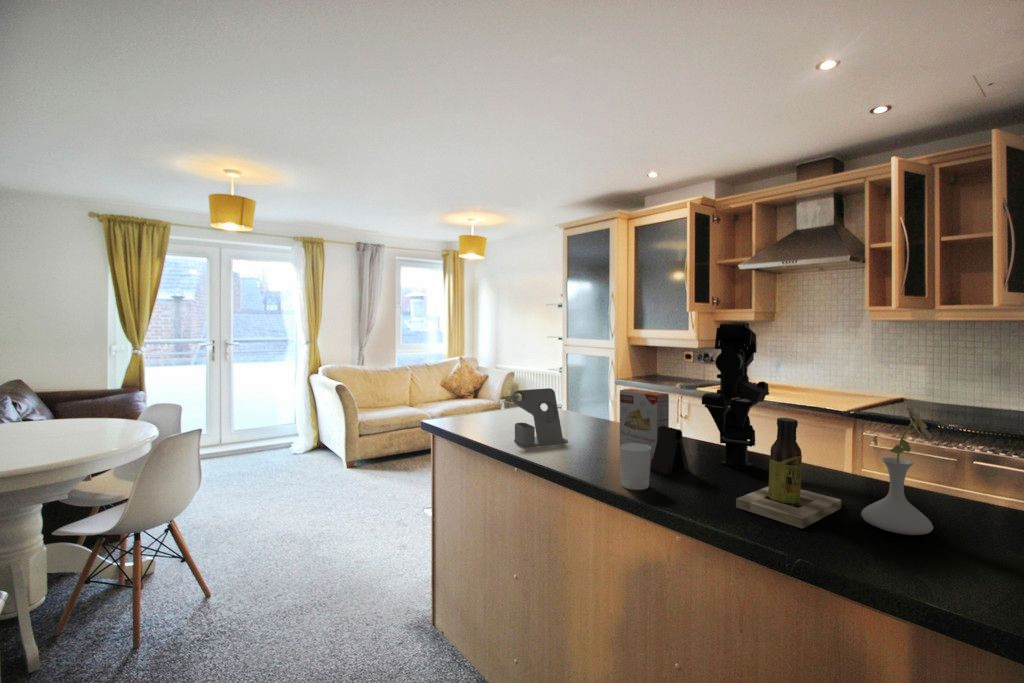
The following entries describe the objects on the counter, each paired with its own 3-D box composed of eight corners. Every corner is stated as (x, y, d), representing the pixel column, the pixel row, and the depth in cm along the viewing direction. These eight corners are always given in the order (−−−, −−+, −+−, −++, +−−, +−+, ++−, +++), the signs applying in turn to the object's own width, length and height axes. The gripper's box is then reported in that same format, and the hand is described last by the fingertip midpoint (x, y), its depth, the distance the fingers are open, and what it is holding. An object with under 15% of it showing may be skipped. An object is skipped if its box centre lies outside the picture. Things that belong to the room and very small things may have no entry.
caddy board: (776, 491, 120) (776, 482, 120) (840, 508, 109) (841, 499, 109) (736, 507, 110) (736, 498, 110) (802, 528, 98) (802, 518, 98)
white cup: (645, 493, 119) (645, 452, 119) (614, 487, 123) (614, 448, 123) (654, 484, 126) (655, 445, 125) (625, 479, 130) (625, 441, 130)
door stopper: (666, 475, 133) (667, 431, 132) (650, 470, 138) (650, 427, 137) (689, 470, 137) (689, 428, 137) (672, 465, 142) (672, 424, 142)
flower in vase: (911, 545, 91) (915, 411, 90) (848, 522, 101) (850, 402, 100) (950, 533, 96) (954, 406, 95) (886, 512, 106) (889, 398, 105)
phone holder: (523, 447, 163) (523, 394, 162) (511, 441, 172) (511, 390, 171) (569, 442, 170) (569, 390, 169) (554, 436, 179) (554, 387, 178)
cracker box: (618, 456, 151) (618, 389, 150) (631, 453, 155) (631, 387, 154) (656, 467, 140) (656, 394, 139) (669, 463, 144) (669, 392, 143)
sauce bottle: (789, 515, 105) (791, 423, 104) (762, 505, 111) (764, 418, 110) (806, 509, 109) (808, 420, 108) (779, 500, 114) (781, 415, 113)
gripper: (742, 375, 117) (741, 440, 117) (781, 371, 128) (780, 430, 128) (700, 372, 126) (700, 432, 127) (740, 368, 137) (739, 423, 137)
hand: (731, 429), depth 129 cm, fingers open, 9 cm apart
